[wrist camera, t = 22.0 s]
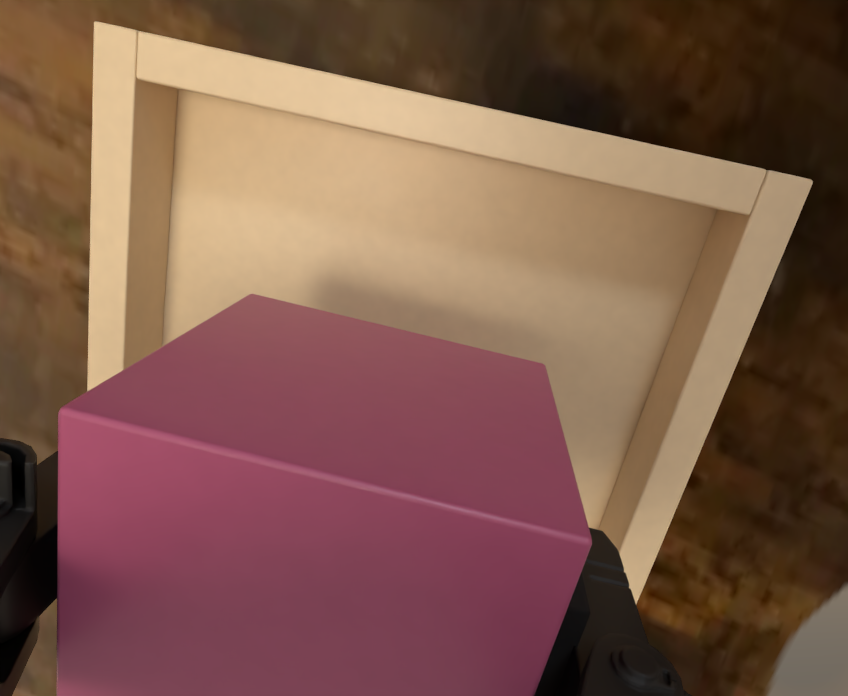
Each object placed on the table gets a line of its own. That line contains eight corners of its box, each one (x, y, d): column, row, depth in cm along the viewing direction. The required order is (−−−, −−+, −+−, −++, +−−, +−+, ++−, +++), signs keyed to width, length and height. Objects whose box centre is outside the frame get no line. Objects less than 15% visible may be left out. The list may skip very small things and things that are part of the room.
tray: (754, 175, 15) (815, 180, 12) (575, 639, 21) (590, 718, 18) (163, 44, 16) (92, 20, 13) (137, 532, 21) (83, 591, 18)
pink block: (546, 363, 12) (596, 542, 7) (472, 601, 15) (462, 888, 9) (250, 291, 13) (54, 407, 7) (220, 537, 15) (53, 779, 9)
